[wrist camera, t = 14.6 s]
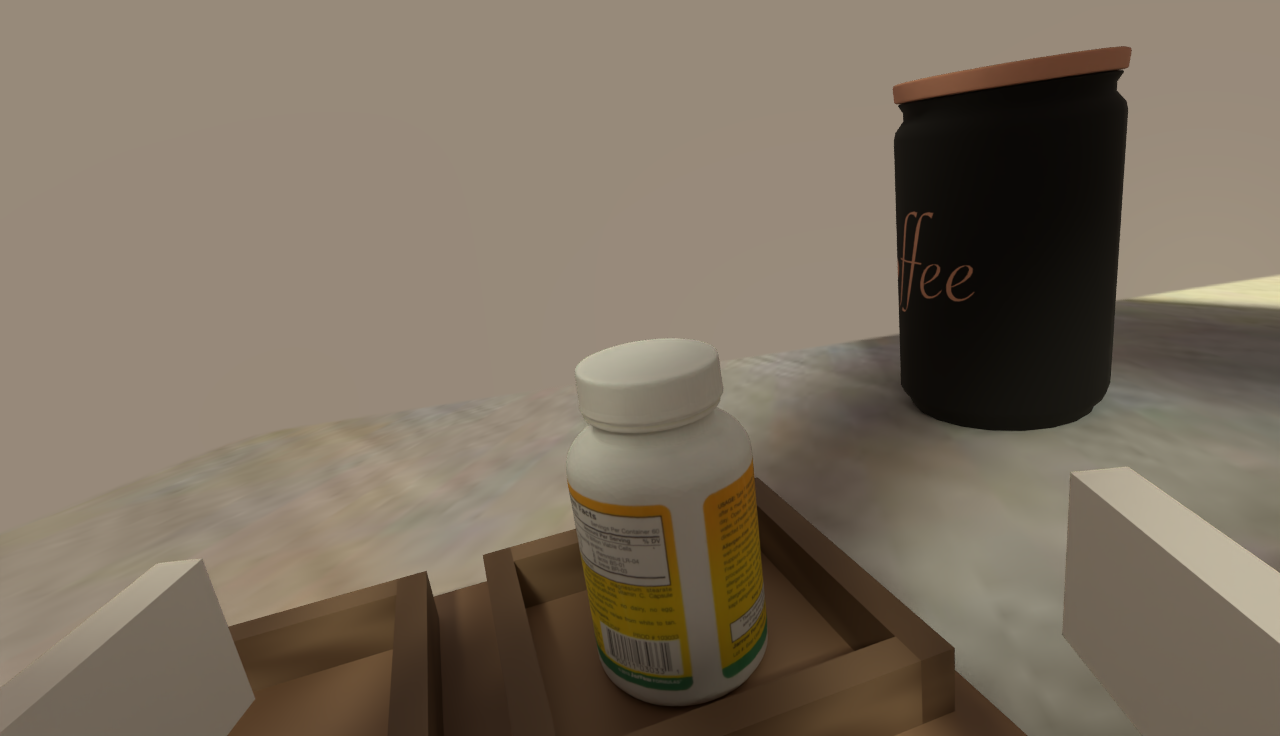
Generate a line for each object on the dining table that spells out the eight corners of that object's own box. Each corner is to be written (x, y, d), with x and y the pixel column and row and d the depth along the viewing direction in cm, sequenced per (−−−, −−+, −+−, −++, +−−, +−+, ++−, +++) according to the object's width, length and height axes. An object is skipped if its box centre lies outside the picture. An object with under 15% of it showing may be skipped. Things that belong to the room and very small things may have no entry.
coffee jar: (889, 374, 46) (879, 91, 41) (1066, 363, 44) (1079, 60, 38) (916, 440, 36) (908, 78, 31) (1146, 430, 34) (1180, 34, 29)
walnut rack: (769, 529, 30) (762, 457, 29) (1031, 787, 17) (1035, 674, 16) (96, 734, 24) (57, 651, 23) (-292, 1387, 11) (-424, 1263, 10)
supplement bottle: (617, 736, 19) (556, 408, 16) (588, 617, 24) (538, 353, 21) (801, 682, 20) (774, 363, 17) (735, 579, 25) (706, 321, 22)
